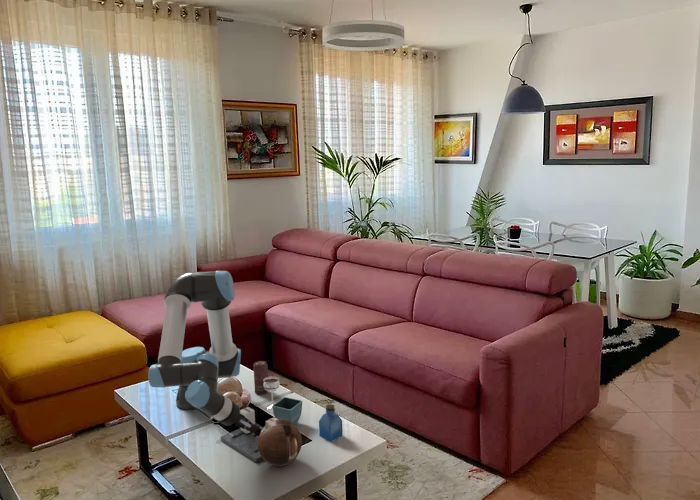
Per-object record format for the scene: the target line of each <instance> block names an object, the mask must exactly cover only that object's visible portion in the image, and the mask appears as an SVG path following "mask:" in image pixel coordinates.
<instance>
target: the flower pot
mask: <svg viewBox="0 0 700 500" xmlns="http://www.w3.org/2000/svg"><path fill="white" fill-rule="evenodd" d="M273 404H274V405H273V406H272V407H273V409H272V411H273V416H274V417H275V418H277V419H278V420H279V419H282V420H287V421H290V422H292V423H293V424H294V425H295V426H296V424H297V423H298V422H299V420H300V419H301V417H302V410H303V400H301V399H298V398H297V399H296V398H291V397H286V396H284V397H282V398H281V399H280V400H278V401H277V402H276V403H273Z"/></svg>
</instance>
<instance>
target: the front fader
mask: <svg viewBox="0 0 700 500" xmlns="http://www.w3.org/2000/svg"><path fill="white" fill-rule="evenodd" d="M274 420H278V419H277V418H275V416H274V417H272V418H269V419H268V420H265V426H266V425H267V424H268V423H270V422H272V421H274Z"/></svg>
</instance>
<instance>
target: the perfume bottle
mask: <svg viewBox="0 0 700 500" xmlns="http://www.w3.org/2000/svg"><path fill="white" fill-rule="evenodd" d="M343 430H344V429H343V419H342V418H341V417H340V415H339V414H337V413H336V408H335V405H334V404H327V405H326V406H325V413H324V414H322V415H321V417H320V418H319V420H318V432H319V437H320V438H322V439H323V440H326V441H328V443H331V442H333V441H336V440H338V439H339V437H340V438H341V437H343V435H344V433H343Z"/></svg>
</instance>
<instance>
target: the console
mask: <svg viewBox="0 0 700 500" xmlns="http://www.w3.org/2000/svg"><path fill="white" fill-rule="evenodd" d="M255 424H257V427H258V428H261V429H263V428H264V426H261V425H260V424H258V423H256V422H255ZM253 435H254V434H253V433H251V432H250V433H248V434H246V433H244V432H243V431H241V428H240V427H239V428H238V429H234V430H233V431H231V432H229V433H227V434H223V435H222V436H220V442H222V443H224V444H226V445H227V446H228V447H230V448H232V449H234V450H235V451H237V452H238V453H240V454H241V455H243V456H245V457H246V458H248V459H249V460H250V461H252V462H254V463H256V464H257V463H259V462H261V461H263V460H264V459H263V458H262V456H261V455H260V453H259V450H258V437H257V436H256V437H254V436H253Z"/></svg>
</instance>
